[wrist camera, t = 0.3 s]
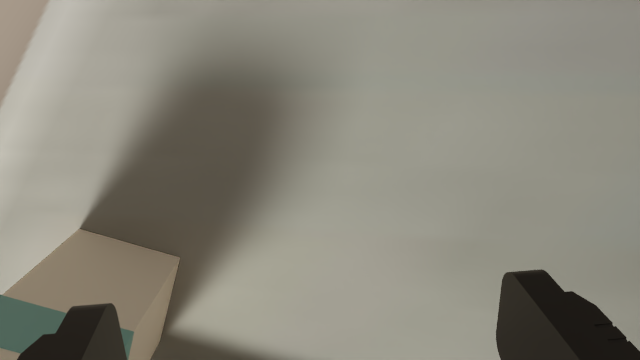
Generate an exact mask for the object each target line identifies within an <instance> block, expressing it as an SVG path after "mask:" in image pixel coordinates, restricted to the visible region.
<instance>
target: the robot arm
mask: <svg viewBox="0 0 640 360" xmlns="http://www.w3.org/2000/svg"><path fill="white" fill-rule="evenodd" d="M496 341H497V348H498V352H499V355H500V358H501V360H640V351H639V350H638V349H637V348H636V347H635V346H634V345H633V344H632V343H631V342H630V341H628V342H627V340H626V337H625V336H624V335H623V334H622V332H621V331H620V330H619V329H618V328H617V327H616V326H615V327H613V325H612V322H611V321H610V320H609V319H608V318H607V317H606V316H605V315H604V314H603V312H602V311H601V310H600V309H599V308H598V307H597V306H596V305H594V304H592V303H591V302H589V301H587V300H586V299H584V298H582V297H581V296H579V295H577V294H576V293H574V292H572V291H571V292H564V291H563V290H562V289H561V288H560V286H559V285H558V284H557V283H556V282H555V281H554V280H553V279H552V277H551V276H550V275H549V274H548V273H547V272H546V271H544V270H530V271H518V272H507V273H505V275H504V277H503V279H502V286H501V294H500V303H499V312H498V321H497V330H496ZM17 360H127V356H126V352H125V347H124V342H123V338H122V333H121V329H120V324H119V319H118V315H117V311H116V308H115V306H114V305H113V304H112V303H106V304H94V305H81V306H73V307H71V308H70V309H69V311H68V312H67V314H66V316H65V317H64V319H63V321H62V323H61V324H60V326H59V328H58V330H57V331H56V333H55V334H43V335H42V336H41V337H40V338H38V339H37V340H36V341H35V342H34V343H33V344H31V345H30V346H29V347H28V348H27V349H25V350H24V351H23V352H22V353H21V354H20V355H19V357H18V359H17Z"/></svg>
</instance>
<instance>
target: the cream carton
mask: <svg viewBox="0 0 640 360" xmlns="http://www.w3.org/2000/svg"><path fill="white" fill-rule="evenodd" d="M179 261H180V257H176V256H173V255H169V254H166V253H162V252H159V251H155V250H152V249H148V248H145V247H141V246H138V245H134V244H131V243H127V242H124V241H120V240H117V239H113V238H110V237H106V236H103V235H99V234H96V233H92V232H89V231H85V230H82V229H78V230H77V231H76V232H75V233H74V234H73V235H71V236H70V237H69V238H68V239H67V240H66V241H65V242H63V243H62V244H61V245H60V246H59V247H58V248H56V249H55V250H54V251H53V252H52V253H51V254H49V255H48V256H47V257H46V258H45V259H44V260H42V261H41V262H40V263H39V264H38V265H37V266H35V267H34V268H33V269H32V270H31V271H30V272H28V273H27V274H26V275H25V276H24V277H23V278H21V279H20V280H19V281H18V282H17V283H16V284H14V285H13V286H12V287H11V288H10V289H9V290H7V291H6V292H5V293H4V294H3V295H0V360H17V359H18V357H19V355H20V354H21V353H22V352H23V351H24V350H25V349H27V348H28V347H29V346H30V345H31V344H33V343H34V342H35V341H36V340H37V339H38V338H40V337H41V336H42V335H43V334H55V333H56V331H57V330H58V328H59V326H60V324H61V323H62V321H63V319H64V317H65V316H66V314H67V312H68V311H69V309H70V308H71V307H73V306H81V305H94V304H106V303H112V304H113V305H114V306H115V308H116V311H117V315H118V319H119V324H120V329H121V333H122V338H123V342H124V347H125V352H126V356H127V360H150V359H151V357H152V355H153V353H154V351H155V350H156V348H157V346H158V344H159V342H160V339H161V335H162V331H163V327H164V323H165V319H166V314H167V310H168V306H169V302H170V298H171V294H172V290H173V286H174V281H175V277H176V273H177V269H178V265H179Z"/></svg>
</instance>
